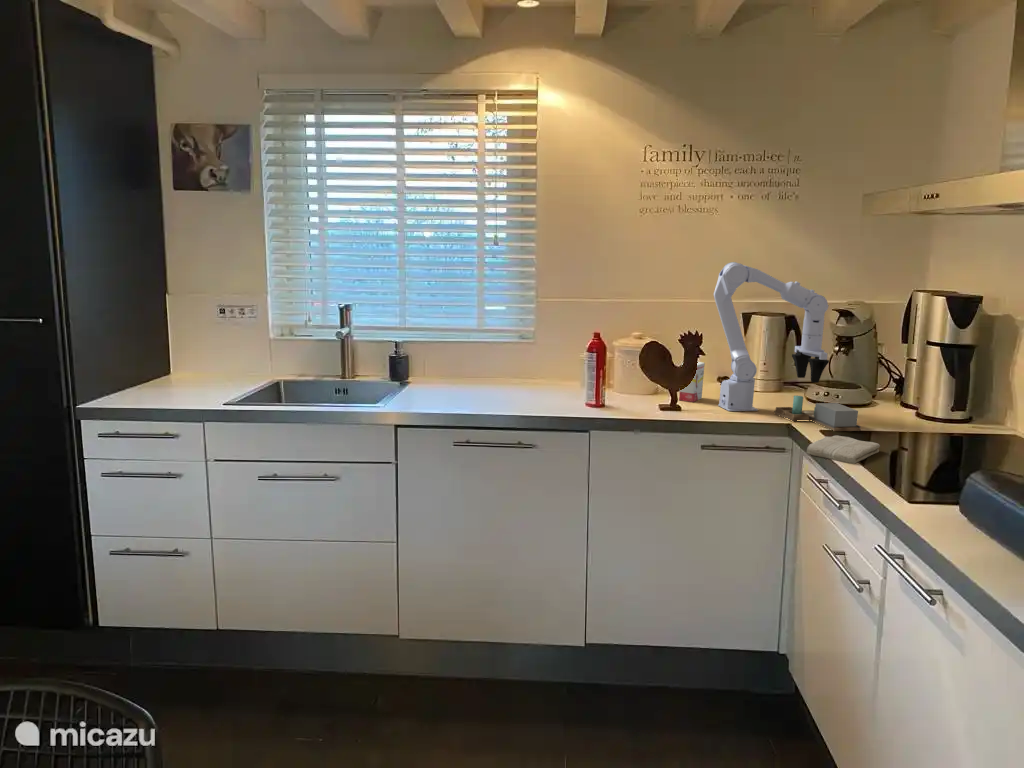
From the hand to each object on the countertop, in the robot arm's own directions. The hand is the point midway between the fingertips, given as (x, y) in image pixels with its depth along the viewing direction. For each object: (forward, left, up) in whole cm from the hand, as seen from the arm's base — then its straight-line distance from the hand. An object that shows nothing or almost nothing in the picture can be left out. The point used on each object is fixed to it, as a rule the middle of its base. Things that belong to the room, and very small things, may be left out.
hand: (807, 379), depth 243 cm
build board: (-8, -7, -10) cm, 14 cm away
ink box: (-28, +20, -10) cm, 36 cm away
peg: (-8, -9, -9) cm, 15 cm away
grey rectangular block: (-1, -17, -10) cm, 20 cm away
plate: (-1, -12, -10) cm, 16 cm away
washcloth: (-15, -44, -11) cm, 47 cm away
